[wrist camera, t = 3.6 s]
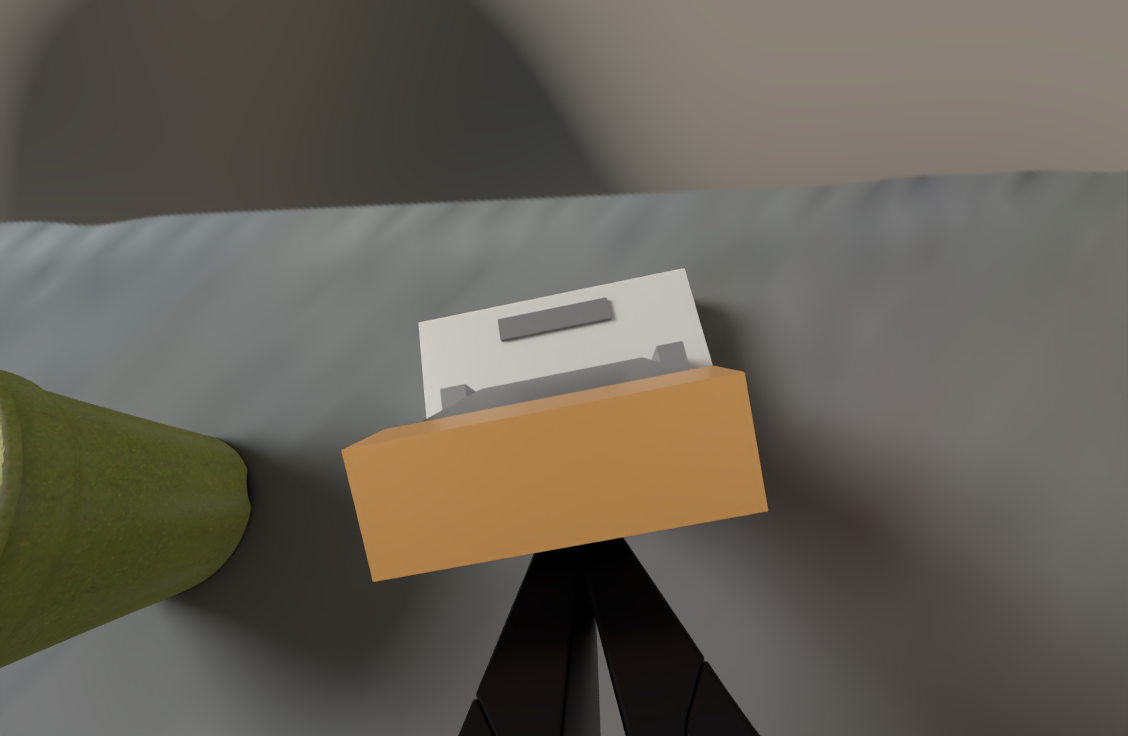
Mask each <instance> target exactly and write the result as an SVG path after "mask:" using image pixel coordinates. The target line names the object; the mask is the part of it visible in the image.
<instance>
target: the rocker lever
mask: <svg viewBox="0 0 1128 736" xmlns="http://www.w3.org/2000/svg"><path fill="white" fill-rule="evenodd" d="M341 451H342V455H343V459H344V463H345V468H346V472H347V476H348V480H349V484H350V488H351V493H352V497H353V501H354V505H355V509H356V513H357V518H358V522H359V526H360V530H361V534H362V538H363V543H364V547H365V551H366V555H367V559H368V563H369V567H370V572H371V576H372V580H373V582H376V581H381V580H387V579H393V578H398V577H404V576H409V575H415V574H420V573H426V572H432V571H437V570H443V569H448V568H454V567H459V566H465V565H471V564H476V563H482V562H487V561H493V560H499V559H504V558H510V557H515V556H521V555H526V554H532V553H538V552H543V551H549V550H554V549H560V548H565V547H571V546H577V545H582V544H588V543H593V542H599V541H605V540H610V539H616V538H621V537H627V536H632V535H638V534H644V533H649V532H655V531H660V530H666V529H671V528H677V527H683V526H688V525H694V524H699V523H705V522H711V521H716V520H722V519H727V518H733V517H738V516H744V515H750V514H755V513H761V512H766V511H768V506H767V500H766V494H765V489H764V483H763V477H762V471H761V465H760V459H759V453H758V448H757V442H756V436H755V430H754V424H753V418H752V412H751V407H750V401H749V395H748V389H747V383H746V377H745V372H743V371H738V370H733V369H728V368H723V367H718V366H713V365H712V366H707V367H702V368H697V369H691V370H684V369H681V368H678V367H674V366H671V365H667V364H664V363H661V362H657V361H654V360H650V359H647V358H643V357H641V358H635V359H630V360H625V361H620V362H615V363H610V364H605V365H600V366H595V367H590V368H585V369H580V370H575V371H569V372H564V373H559V374H554V375H549V376H544V377H539V378H534V379H529V380H524V381H519V382H514V383H509V384H504V385H498V386H493V387H488V388H483V389H480V390H478V391H477V392H475V393H473V394H471V395H469V396H467V397H466V398H464V399H462V400H460V401H458V402H456V403H455V404H453V405H451V406H449V407H447V408H445V409H444V410H442V411H440V412H438V413H436V414H434V415H433V416H431V417H429V418H427V419H425V420H423V421H422V422H420V423H414V424H409V425H404V426H399V427H394V428H389V429H384V430H382V431H380V432H378V433H376V434H374V435H371V436H369V437H367V438H365V439H363V440H361V441H359V442H357V443H355V444H353V445H351V446H349V447H346V448H344V449H342V450H341Z"/></svg>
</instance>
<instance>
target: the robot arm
mask: <svg viewBox="0 0 1128 736" xmlns="http://www.w3.org/2000/svg"><path fill="white" fill-rule="evenodd" d="M596 623H597V627H598V631H599V635H600V639H601V643H602V647H603V650H604V654H605V658H606V662H607V666H608V670H609V673H610V677H611V681H612V685H613V689H614V693H615V697H616V700H617V704H618V708H619V712H620V716H621V720H622V723H623V727H624V731H625V735H626V736H760V735H759V733H758V732H757V731H756V730H755V728H754V727H753V726H752V724H751V723H750V722H749V720H748V719H747V717H746V716H745V715H744V713H743V712H742V710H741V709H740V708H739V706H738V705H737V703H736V702H735V701H734V699H733V698H732V696H731V695H730V694H729V692H728V691H727V689H726V688H725V687H724V685H723V684H722V682H721V681H720V679H719V678H718V676H717V675H716V673H715V672H714V670H713V669H712V667H711V666H710V664H709V663H708V662H706V661H705V662H704V656H703V654H702V653H701V652H700V650H699V649H698V647H697V646H696V644H695V643H694V641H693V640H692V638H691V637H690V635H689V634H688V632H687V631H686V629H685V628H684V626H683V625H682V623H681V622H680V620H679V619H678V618H677V616H676V615H675V613H674V612H673V610H672V609H671V607H670V606H669V604H668V603H667V601H666V600H665V598H664V597H663V595H662V594H661V592H660V591H659V589H658V588H657V586H656V585H655V583H654V582H653V581H652V579H651V578H650V576H649V575H648V573H647V572H646V570H645V569H644V567H643V566H642V564H641V563H640V561H639V560H638V558H637V557H636V555H635V554H634V552H633V551H632V549H631V548H630V546H629V545H628V544H627V542H626V541H625V539H624V538H623V537H621V538H616V539H610V540H605V541H599V542H593V543H588V544H582V545H577V546H571V547H565V548H560V549H554V550H549V551H543V552H538V553H534V555H533V557H532V559H531V562H530V564H529V567H528V569H527V572H526V574H525V576H524V579H523V581H522V584H521V586H520V588H519V591H518V593H517V596H516V598H515V601H514V603H513V605H512V608H511V610H510V613H509V615H508V618H507V620H506V622H505V625H504V627H503V630H502V632H501V634H500V637H499V639H498V642H497V644H496V647H495V649H494V651H493V654H492V656H491V659H490V661H489V664H488V666H487V668H486V671H485V673H484V676H483V678H482V680H481V683H480V685H479V688H478V690H477V693H476V697H477V699H478V700H477V699H474V700H473V702H472V704H471V707H470V709H469V711H468V714H467V716H466V719H465V721H464V724H463V726H462V728H461V731H460V733H459V735H458V736H601V734H600V708H599V681H598V654H597V631H596Z"/></svg>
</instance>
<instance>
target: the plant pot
mask: <svg viewBox="0 0 1128 736" xmlns="http://www.w3.org/2000/svg"><path fill="white" fill-rule="evenodd" d="M246 479H247V467H246V465H245V464H244V462H243V460H242V458H241V457H240V456H239V454H238V453H237V452H236V451H235V450H234V449H233V448H232V447H230V446H229V445H228V444H226V443H224V442H223V441H221V440H219V439H216V438H213V437H209V436H206V435H202V434H198V433H195V432H191V431H188V430H184V429H180V428H176V427H172V426H169V425H165V424H161V423H157V422H154V421H150V420H146V419H143V418H139V417H136V416H132V415H129V414H125V413H121V412H118V411H114V410H111V409H107V408H104V407H100V406H97V405H93V404H90V403H86V402H83V401H79V400H76V399H72V398H69V397H65V396H62V395H59V394H55V393H52V392H48V391H45V390H43V389H42V388H40V387H39V386H38V385H36V384H35V383H33V382H31V381H29V380H27V379H25V378H23V377H21V376H18V375H16V374H13V373H10V372H7V371H3V370H0V668H1V667H4V666H6V665H8V664H11V663H13V662H16V661H18V660H20V659H23V658H25V657H27V656H30V655H32V654H34V653H37V652H39V651H41V650H44V649H46V648H49V647H51V646H53V645H56V644H58V643H60V642H63V641H65V640H67V639H70V638H72V637H74V636H77V635H79V634H82V633H84V632H86V631H89V630H91V629H94V628H96V627H98V626H101V625H103V624H106V623H108V622H110V621H113V620H115V619H118V618H120V617H123V616H125V615H127V614H130V613H132V612H135V611H137V610H140V609H142V608H145V607H147V606H149V605H152V604H154V603H157V602H159V601H162V600H164V599H167V598H169V597H171V596H174V595H176V594H179V593H181V592H183V591H185V590H188V589H190V588H192V587H194V586H196V585H198V584H199V583H201V582H203V581H204V580H206V579H207V578H208V577H210V576H211V575H213V574H214V573H215V572H216V571H217V570H218V569H219V568H220V567H221V566H222V565H223V564H224V563H225V562H226V561H227V560H228V558H229V557H230V556H231V555H232V553H233V552H234V550H235V549H236V547H237V545H238V544H239V542H240V540H241V538H242V536H243V534H244V531H245V529H246V526H247V523H248V520H249V516H250V511H251V505H250V502H249V499H248V494H247V483H246Z"/></svg>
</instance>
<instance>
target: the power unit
mask: <svg viewBox="0 0 1128 736" xmlns="http://www.w3.org/2000/svg"><path fill="white" fill-rule="evenodd" d="M419 334H420V346H421V358H422V370H423V382H424V394H425V406H426V418H429V417H431V416H433V415H434V414H436V413H438V412H440V411H442V410H444V409H445V408H447V407H449V406H451V405H453V404H455V403H456V402H458V401H460V400H462V399H464V398H466V397H467V396H469V395H471V394H473V393H475V392H477V391H478V390H480V389H483V388H488V387H493V386H498V385H504V384H509V383H514V382H519V381H524V380H529V379H534V378H539V377H544V376H549V375H554V374H559V373H564V372H569V371H575V370H580V369H585V368H590V367H595V366H600V365H605V364H610V363H615V362H620V361H625V360H630V359H635V358H641V357H643V358H647V359H650V360H654V361H657V362H661V363H664V364H667V365H671V366H674V367H678V368H681V369H684V370H691V369H697V368H702V367H707V366H712V361H711V358H710V354H709V351H708V347H707V344H706V341H705V337H704V334H703V330H702V327H701V323H700V320H699V317H698V313H697V310H696V306H695V303H694V299H693V296H692V293H691V289H690V286H689V282H688V279H687V275H686V272H685V269H684V268H683V269H678V270H673V271H668V272H663V273H658V274H653V275H649V276H644V277H639V278H634V279H629V280H624V281H619V282H614V283H610V284H605V285H600V286H595V287H590V288H585V289H580V290H575V291H571V292H566V293H561V294H556V295H551V296H546V297H541V298H536V299H532V300H527V301H522V302H517V303H512V304H507V305H502V306H498V307H493V308H488V309H483V310H478V311H473V312H468V313H463V314H459V315H454V316H449V317H444V318H439V319H434V320H429V321H424V322H420V323H419Z"/></svg>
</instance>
